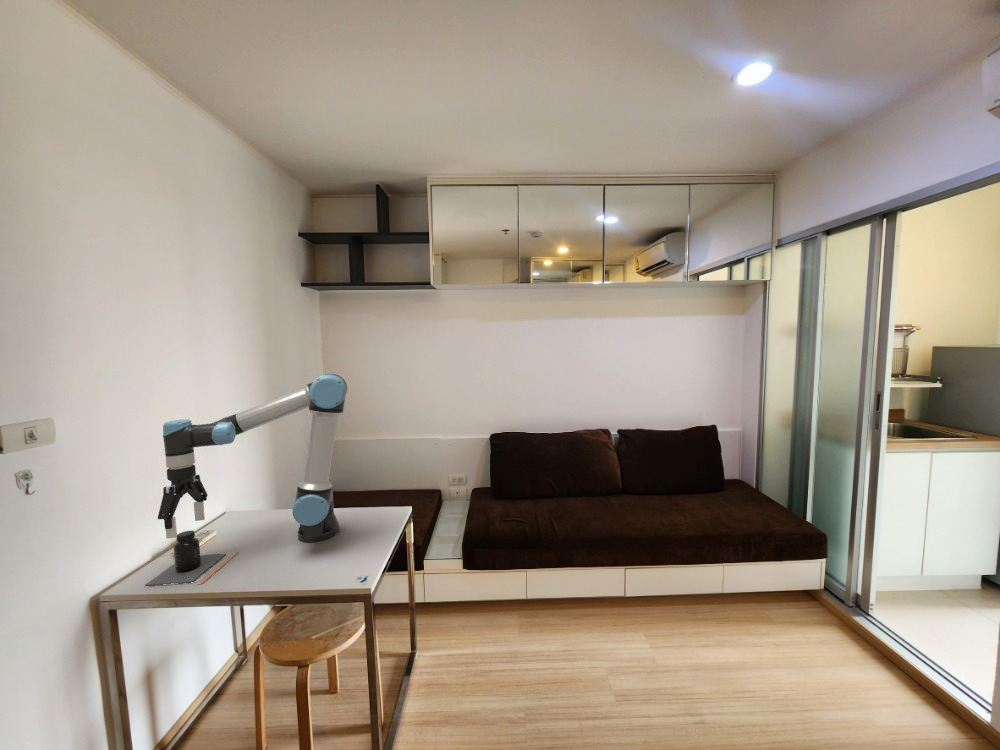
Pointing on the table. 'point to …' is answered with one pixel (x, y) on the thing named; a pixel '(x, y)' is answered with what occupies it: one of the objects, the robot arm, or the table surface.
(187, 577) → the mat
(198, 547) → the supplement bottle
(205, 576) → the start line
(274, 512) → the table surface
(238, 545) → the table surface
